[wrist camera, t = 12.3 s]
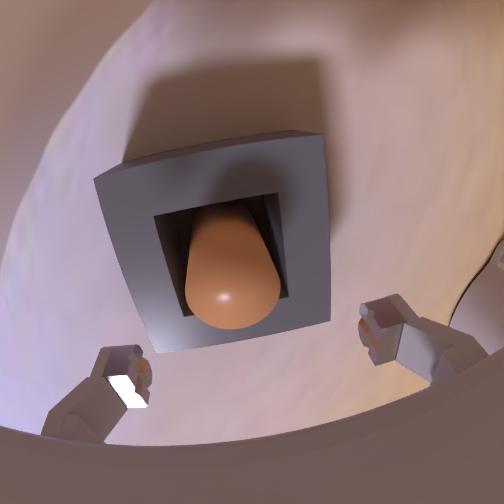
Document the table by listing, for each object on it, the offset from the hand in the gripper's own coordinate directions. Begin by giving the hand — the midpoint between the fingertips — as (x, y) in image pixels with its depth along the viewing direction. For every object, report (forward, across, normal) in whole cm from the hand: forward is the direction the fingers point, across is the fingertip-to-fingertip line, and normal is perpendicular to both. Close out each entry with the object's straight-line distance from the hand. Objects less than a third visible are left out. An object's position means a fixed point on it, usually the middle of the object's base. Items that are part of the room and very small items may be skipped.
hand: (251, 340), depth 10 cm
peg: (+11, +1, 0) cm, 11 cm away
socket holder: (+11, +1, 0) cm, 11 cm away
